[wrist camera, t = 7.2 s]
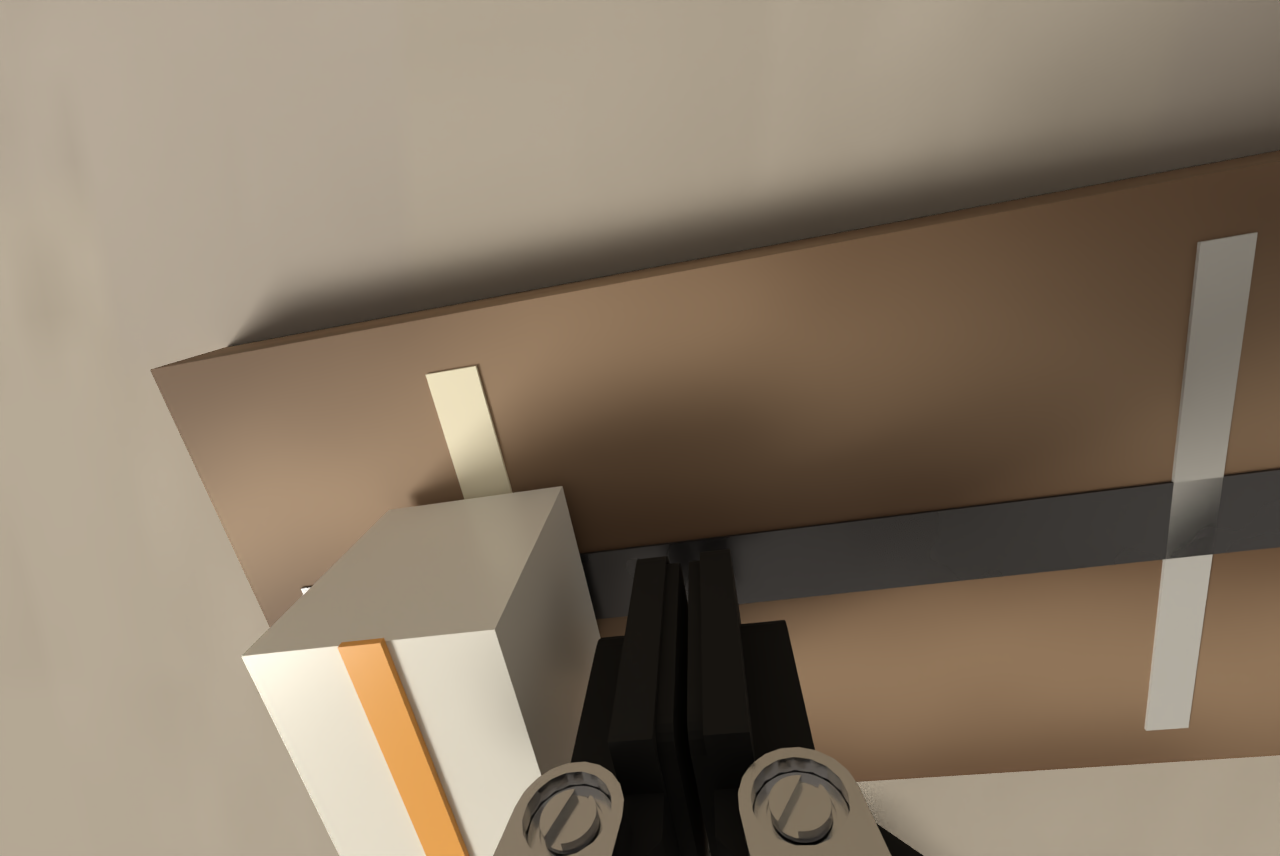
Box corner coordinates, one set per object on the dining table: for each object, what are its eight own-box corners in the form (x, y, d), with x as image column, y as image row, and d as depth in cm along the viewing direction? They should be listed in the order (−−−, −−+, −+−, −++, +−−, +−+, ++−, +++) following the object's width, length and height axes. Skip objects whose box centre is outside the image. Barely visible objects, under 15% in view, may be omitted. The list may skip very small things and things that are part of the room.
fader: (614, 693, 13) (579, 906, 9) (459, 706, 14) (362, 915, 10) (562, 483, 12) (491, 631, 7) (388, 507, 12) (235, 657, 8)
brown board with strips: (1332, 674, 14) (1433, 747, 12) (392, 748, 18) (355, 815, 16) (1461, 116, 10) (1639, 94, 8) (224, 347, 14) (147, 370, 12)
